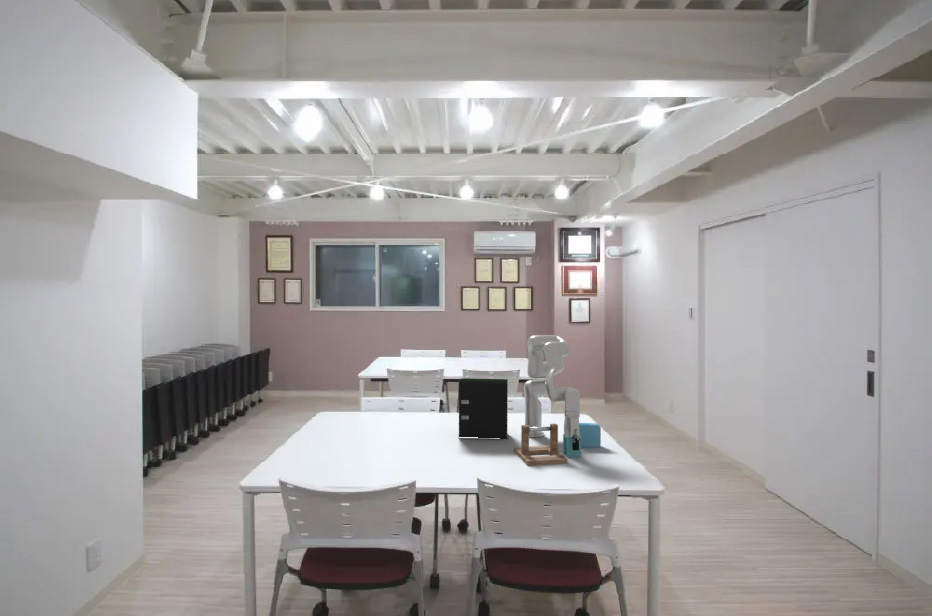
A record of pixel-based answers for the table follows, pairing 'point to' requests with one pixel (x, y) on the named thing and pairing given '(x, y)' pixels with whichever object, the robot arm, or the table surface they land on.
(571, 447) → the teal rectangular block
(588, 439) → the data package
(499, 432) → the binder
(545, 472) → the table surface
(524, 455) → the hook stand
